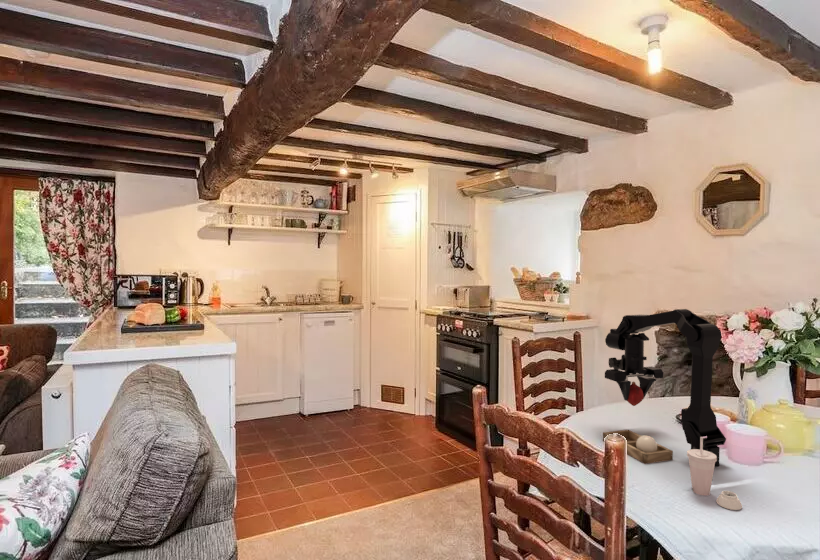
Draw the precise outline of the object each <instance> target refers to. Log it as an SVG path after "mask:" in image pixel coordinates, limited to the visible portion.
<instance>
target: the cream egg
mask: <svg viewBox="0 0 820 560" xmlns="http://www.w3.org/2000/svg"><path fill="white" fill-rule="evenodd" d="M657 444H658V443H657V441H656V439H654V438H653V437H652V436H649V435H641V437H639V438H638V439H637V441H636V447H637V449H639V450H641V451H643V452H645V453H648V452H656V451H657Z"/></svg>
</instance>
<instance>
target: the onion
mask: <svg viewBox="0 0 820 560" xmlns="http://www.w3.org/2000/svg"><path fill="white" fill-rule="evenodd" d="M643 397H644V396H643V391H642V390H641V388H640V385H637V384H636V382H635V381H631V385H630V391H629V397H628V401H627V402H628V404H630V405H631V406H633V407H636V406H637V405H639V404H640V403H641V402H642V401H643V400H644V399H643ZM644 398H645V397H644Z"/></svg>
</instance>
